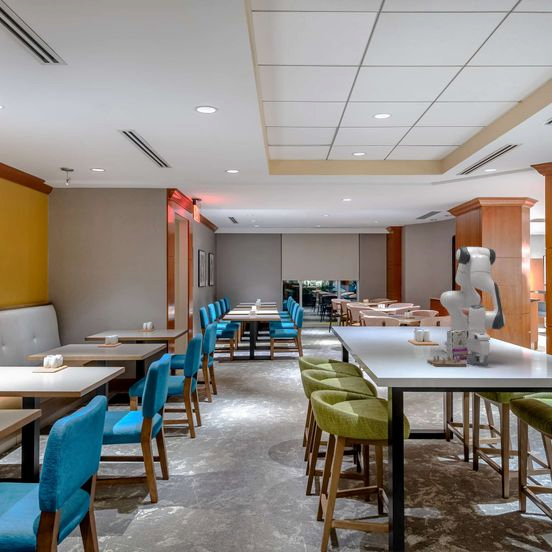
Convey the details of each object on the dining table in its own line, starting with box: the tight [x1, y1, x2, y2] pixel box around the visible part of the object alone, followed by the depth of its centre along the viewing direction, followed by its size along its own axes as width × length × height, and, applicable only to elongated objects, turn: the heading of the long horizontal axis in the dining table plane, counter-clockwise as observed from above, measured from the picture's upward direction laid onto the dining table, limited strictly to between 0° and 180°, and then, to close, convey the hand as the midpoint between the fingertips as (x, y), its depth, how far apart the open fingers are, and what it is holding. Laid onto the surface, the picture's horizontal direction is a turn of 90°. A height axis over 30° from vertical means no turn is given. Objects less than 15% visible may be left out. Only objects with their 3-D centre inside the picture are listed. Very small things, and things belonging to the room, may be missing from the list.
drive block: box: [466, 353, 489, 366], centre depth 254 cm, size 5×9×5 cm, turn 95°
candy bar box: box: [446, 330, 469, 361], centre depth 271 cm, size 11×5×16 cm, turn 112°
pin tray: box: [426, 354, 468, 368], centre depth 253 cm, size 14×16×4 cm
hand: (477, 360), depth 254 cm, fingers open, 7 cm apart
